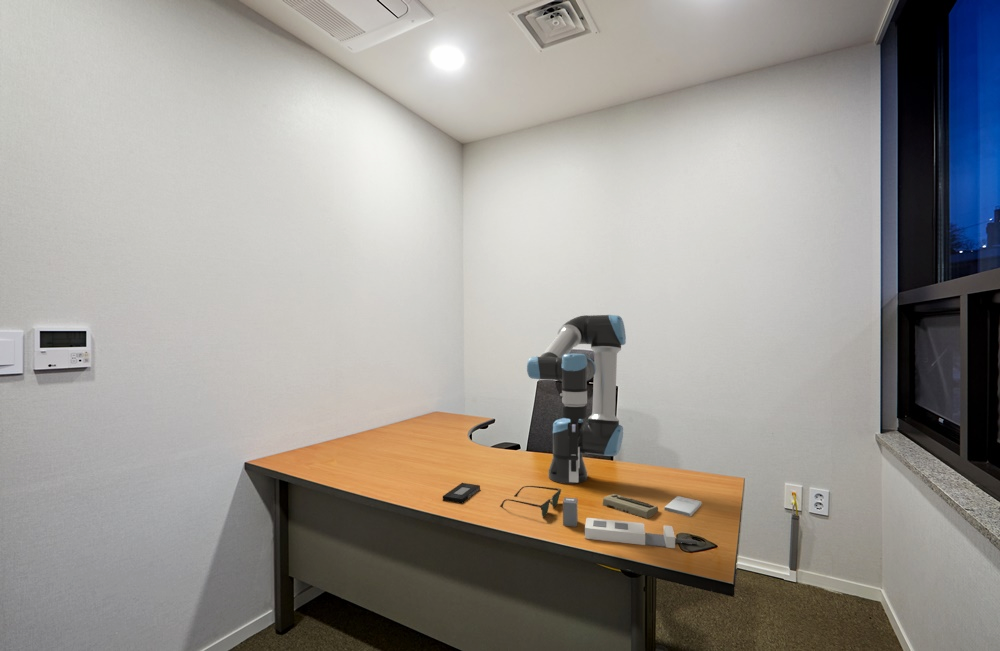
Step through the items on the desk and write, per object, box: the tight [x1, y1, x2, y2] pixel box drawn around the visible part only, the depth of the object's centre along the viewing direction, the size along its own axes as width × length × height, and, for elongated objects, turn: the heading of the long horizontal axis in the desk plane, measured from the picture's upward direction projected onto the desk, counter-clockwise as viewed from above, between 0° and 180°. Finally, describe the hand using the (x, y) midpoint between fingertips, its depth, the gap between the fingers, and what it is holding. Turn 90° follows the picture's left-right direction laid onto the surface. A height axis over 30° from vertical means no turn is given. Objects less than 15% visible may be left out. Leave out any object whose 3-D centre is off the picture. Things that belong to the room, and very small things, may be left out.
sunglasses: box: [499, 485, 562, 517], centre depth 153 cm, size 16×17×5 cm
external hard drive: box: [663, 495, 703, 517], centre depth 151 cm, size 2×8×12 cm
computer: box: [602, 493, 659, 520], centre depth 150 cm, size 16×8×3 cm, turn 47°
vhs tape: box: [442, 482, 481, 505], centre depth 163 cm, size 8×14×2 cm, turn 157°
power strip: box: [584, 517, 698, 549], centre depth 129 cm, size 7×30×3 cm, turn 76°
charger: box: [562, 497, 578, 528], centre depth 139 cm, size 4×4×7 cm
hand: (574, 474), depth 139 cm, fingers open, 13 cm apart
